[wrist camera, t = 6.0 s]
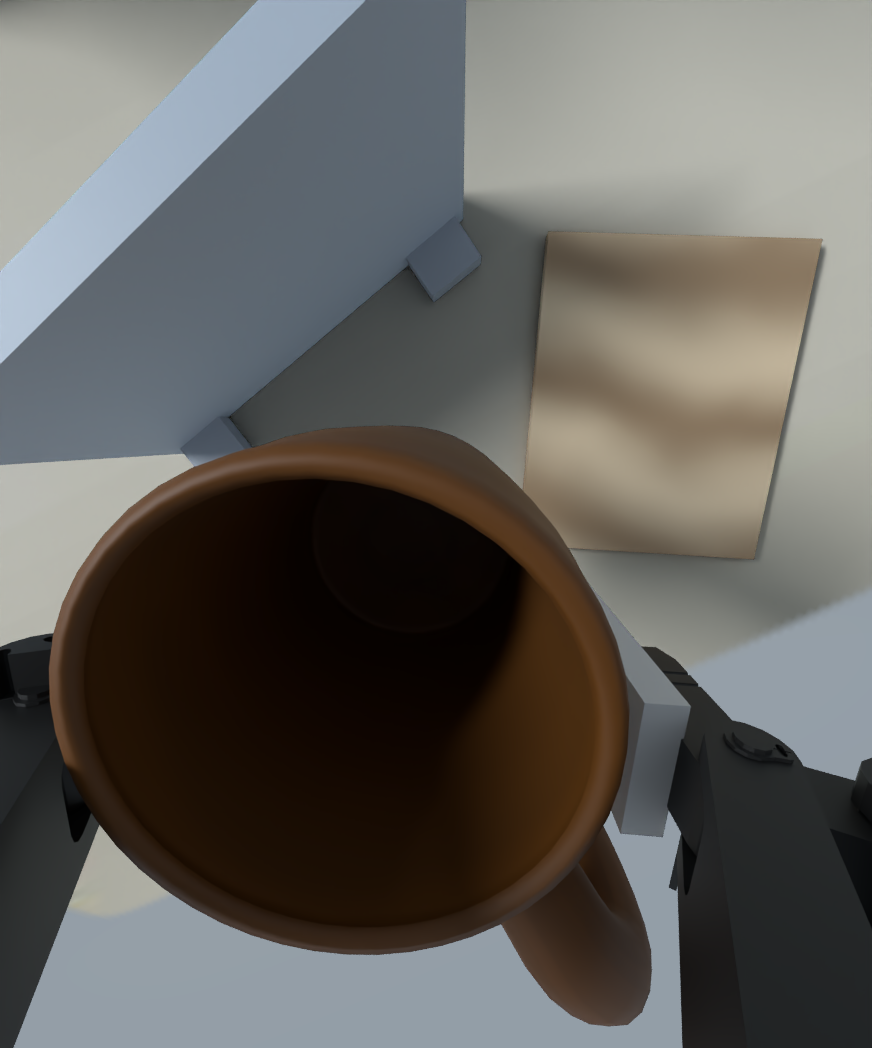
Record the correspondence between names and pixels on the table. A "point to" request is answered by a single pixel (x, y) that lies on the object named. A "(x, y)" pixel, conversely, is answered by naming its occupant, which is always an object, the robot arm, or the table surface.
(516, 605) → the mug
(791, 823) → the robot arm
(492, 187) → the table surface
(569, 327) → the cork pad
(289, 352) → the screen
